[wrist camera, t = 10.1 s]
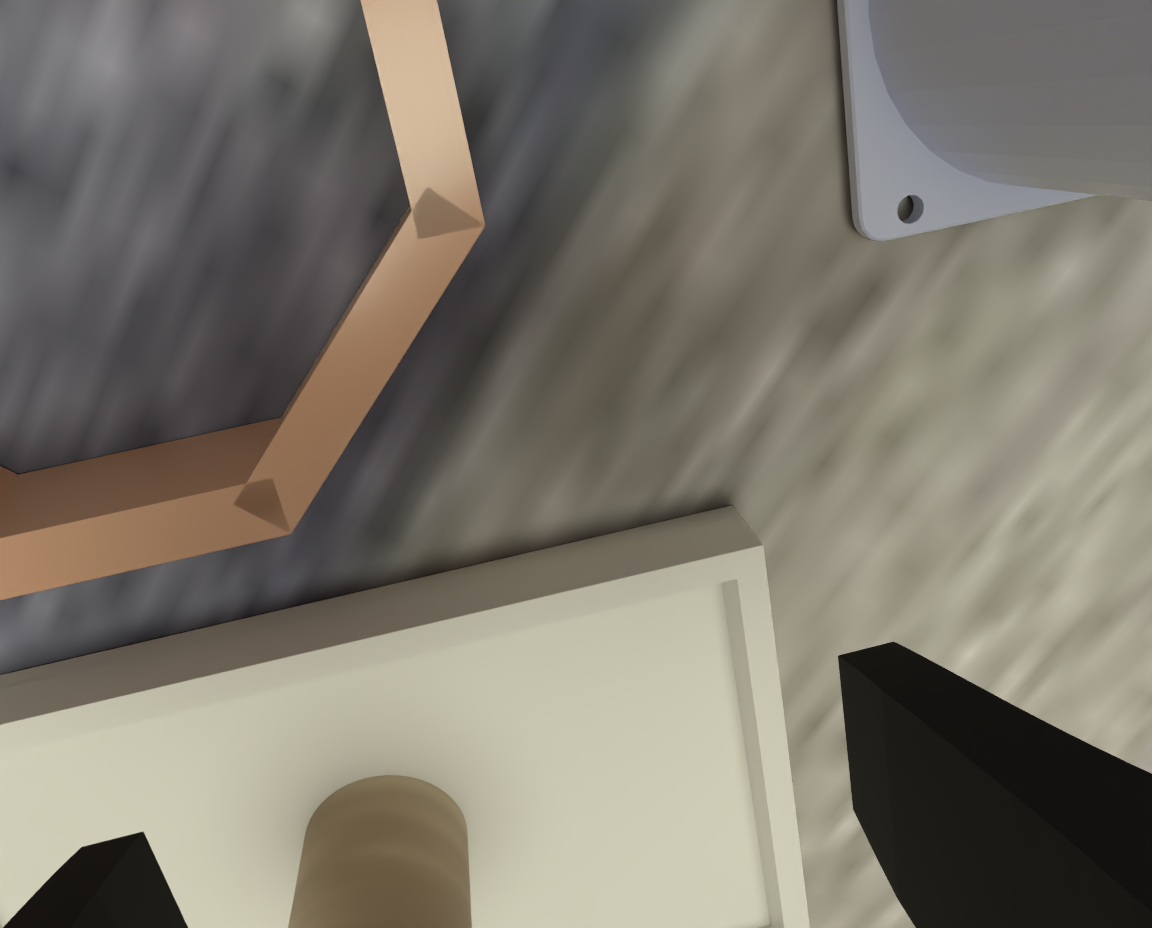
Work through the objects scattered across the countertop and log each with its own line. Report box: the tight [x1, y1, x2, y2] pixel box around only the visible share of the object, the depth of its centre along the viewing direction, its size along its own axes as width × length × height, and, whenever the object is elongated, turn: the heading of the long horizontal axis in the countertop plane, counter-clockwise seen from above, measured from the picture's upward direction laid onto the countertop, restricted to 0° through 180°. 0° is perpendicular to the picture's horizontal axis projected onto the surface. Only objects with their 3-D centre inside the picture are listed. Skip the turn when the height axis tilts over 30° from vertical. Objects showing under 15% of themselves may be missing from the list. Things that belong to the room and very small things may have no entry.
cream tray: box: [0, 505, 810, 928], centre depth 20 cm, size 18×12×2 cm, turn 100°
